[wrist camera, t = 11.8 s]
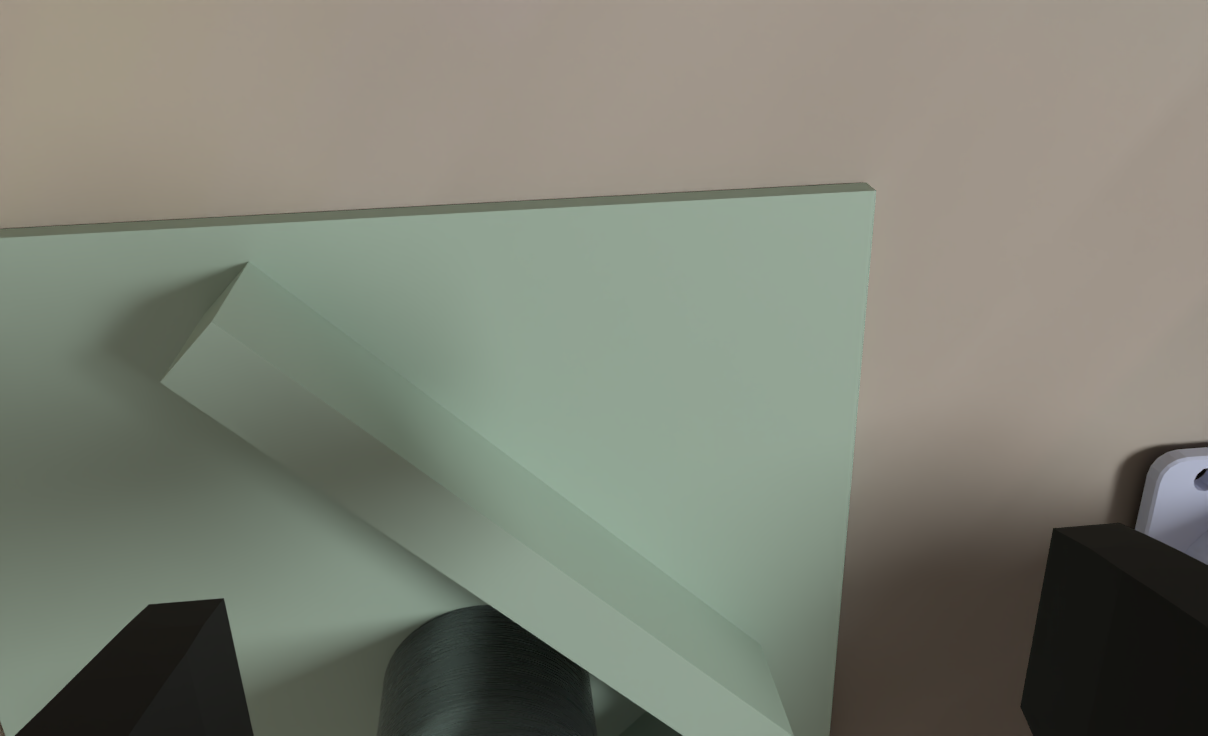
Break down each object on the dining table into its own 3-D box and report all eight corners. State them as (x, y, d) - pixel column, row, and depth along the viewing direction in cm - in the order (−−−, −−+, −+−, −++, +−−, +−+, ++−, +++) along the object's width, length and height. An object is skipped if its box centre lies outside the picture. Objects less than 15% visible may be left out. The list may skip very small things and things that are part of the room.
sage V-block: (866, 182, 18) (936, 236, 15) (803, 950, 26) (841, 1077, 23) (-148, 236, 16) (-274, 308, 13) (122, 1030, 24) (77, 1175, 21)
